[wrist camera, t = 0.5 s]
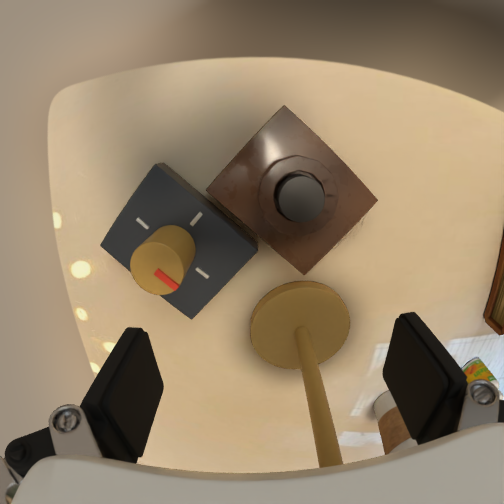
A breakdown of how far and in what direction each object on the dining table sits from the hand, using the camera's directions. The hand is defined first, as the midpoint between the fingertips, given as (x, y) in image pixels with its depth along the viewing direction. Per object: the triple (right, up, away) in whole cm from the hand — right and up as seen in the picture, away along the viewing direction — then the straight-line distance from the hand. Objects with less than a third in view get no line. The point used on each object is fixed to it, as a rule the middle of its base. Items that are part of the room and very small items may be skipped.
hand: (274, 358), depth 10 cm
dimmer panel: (-8, +5, +18) cm, 21 cm away
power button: (+3, +8, +13) cm, 16 cm away
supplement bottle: (+37, -17, +26) cm, 48 cm away
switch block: (+3, +10, +17) cm, 19 cm away
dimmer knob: (-8, +4, +16) cm, 18 cm away
